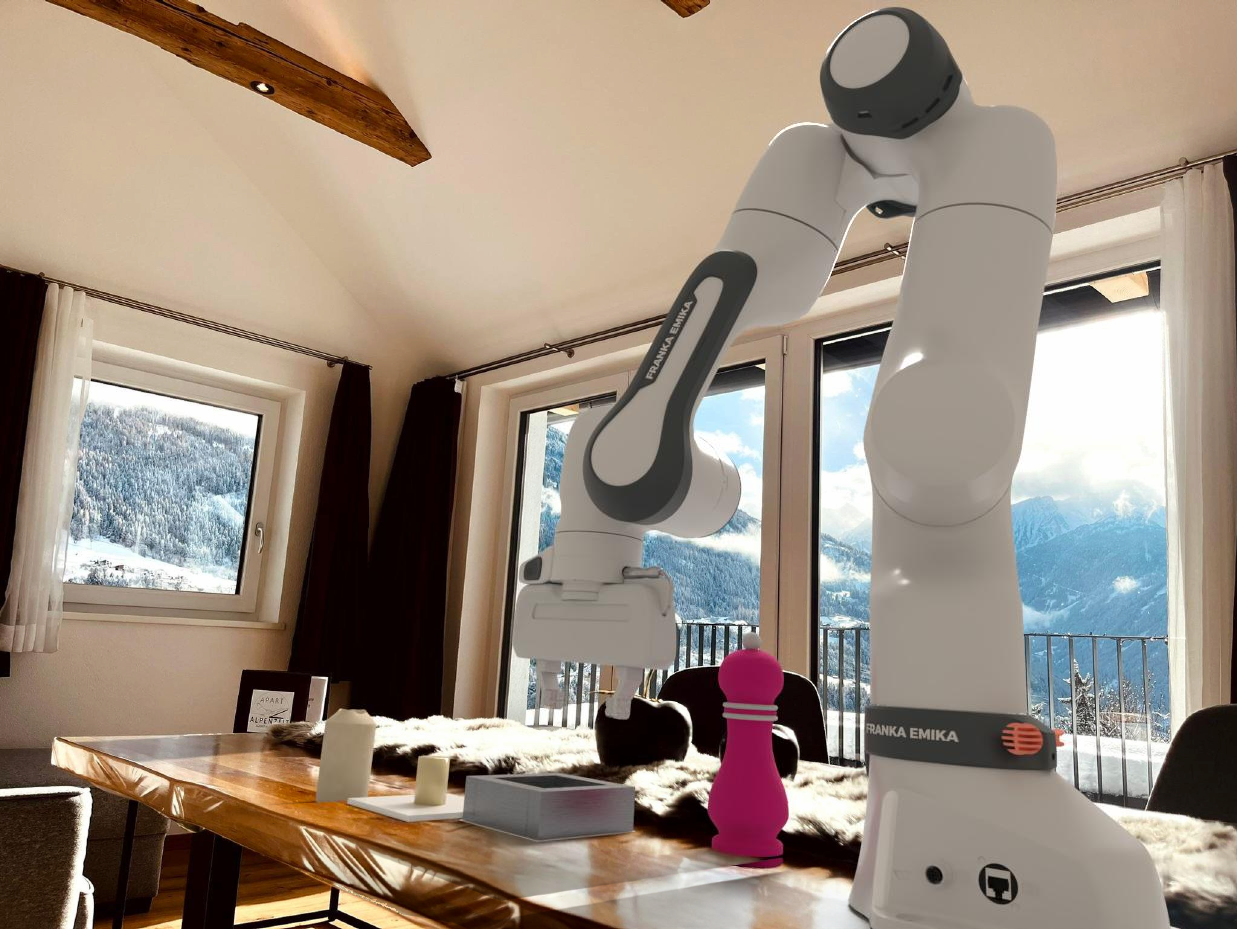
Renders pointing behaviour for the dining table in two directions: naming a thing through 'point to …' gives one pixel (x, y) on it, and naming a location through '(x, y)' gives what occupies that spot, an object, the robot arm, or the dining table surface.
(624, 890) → the dining table surface
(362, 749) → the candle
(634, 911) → the dining table surface
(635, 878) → the dining table surface
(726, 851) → the pepper mill
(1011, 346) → the robot arm
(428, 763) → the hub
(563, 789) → the collar
